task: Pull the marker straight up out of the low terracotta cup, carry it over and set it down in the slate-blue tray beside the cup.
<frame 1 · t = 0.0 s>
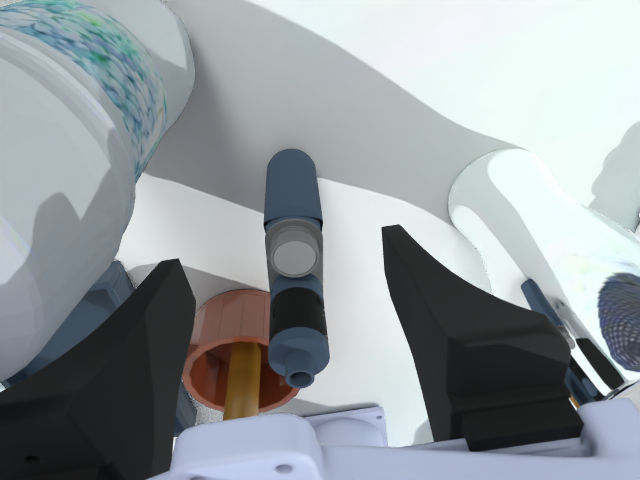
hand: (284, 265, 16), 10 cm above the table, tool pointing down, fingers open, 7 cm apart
marker: (247, 334, 31), resting on pen cup
pen cup: (248, 329, 32), on the table
beer glass: (496, 193, 27), on the table
tray: (92, 357, 32), on the table
bottle: (133, 49, 21), on the table
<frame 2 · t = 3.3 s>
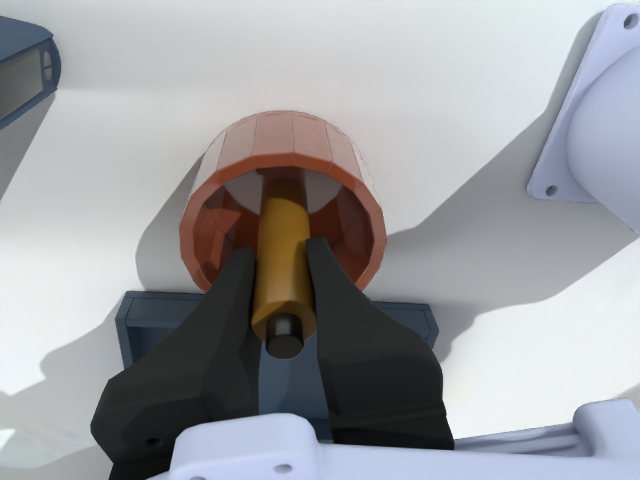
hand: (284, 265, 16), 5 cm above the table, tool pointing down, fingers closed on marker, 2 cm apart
marker: (284, 199, 20), point 1 cm above the table, touching gripper, pen cup
pen cup: (284, 193, 20), on the table
tray: (277, 363, 27), on the table
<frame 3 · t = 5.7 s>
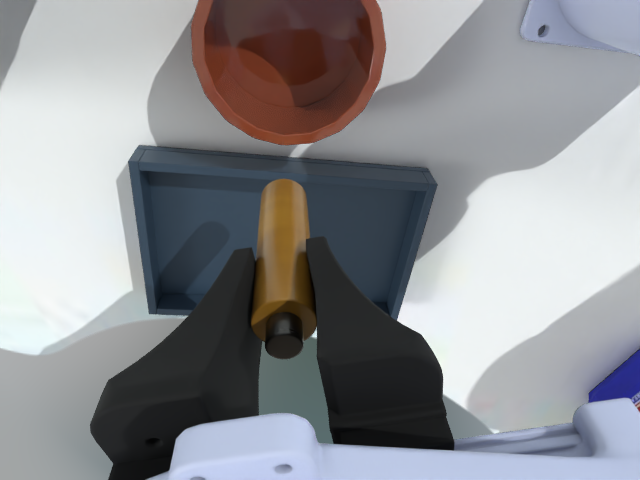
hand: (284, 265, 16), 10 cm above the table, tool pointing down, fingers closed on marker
marker: (283, 198, 20), point 6 cm above the table, touching gripper
pen cup: (288, 33, 21), on the table
tray: (282, 235, 28), on the table
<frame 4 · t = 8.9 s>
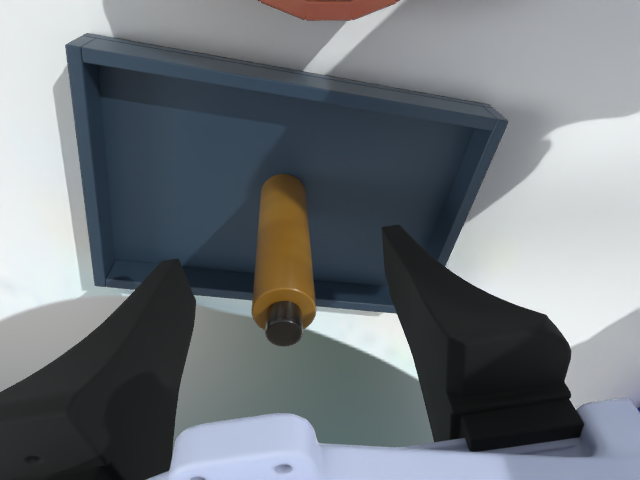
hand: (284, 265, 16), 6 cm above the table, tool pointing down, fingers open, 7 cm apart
marker: (283, 193, 20), resting on tray
tray: (284, 188, 20), on the table
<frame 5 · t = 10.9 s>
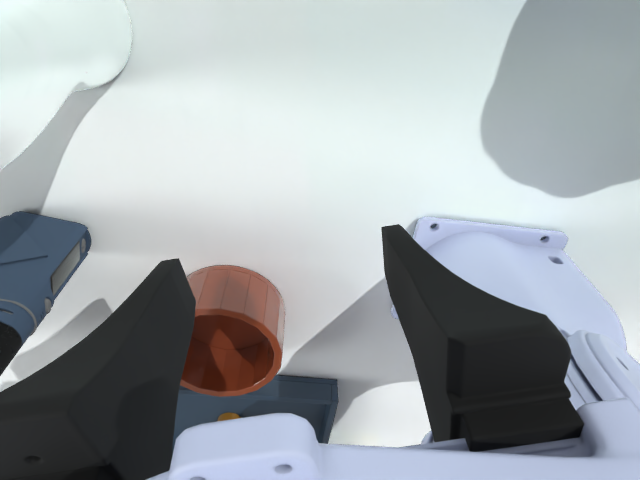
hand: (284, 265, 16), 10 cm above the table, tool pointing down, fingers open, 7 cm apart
pen cup: (229, 309, 31), on the table
beer glass: (68, 20, 21), on the table
tray: (231, 414, 37), on the table
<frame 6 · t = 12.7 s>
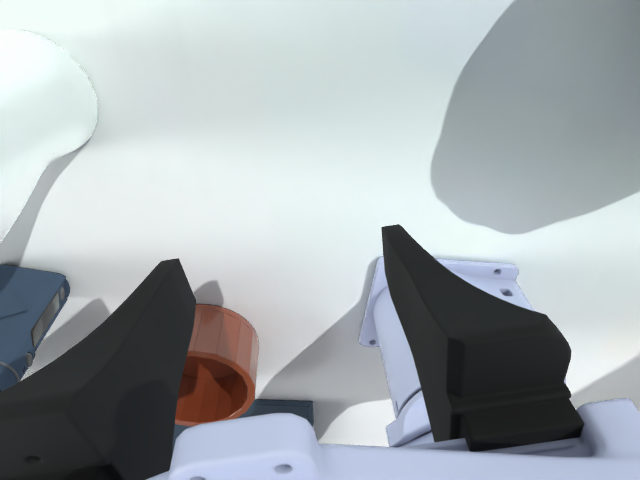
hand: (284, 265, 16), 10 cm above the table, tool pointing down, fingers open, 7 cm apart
pen cup: (205, 343, 32), on the table
beer glass: (36, 94, 22), on the table
tray: (214, 436, 39), on the table
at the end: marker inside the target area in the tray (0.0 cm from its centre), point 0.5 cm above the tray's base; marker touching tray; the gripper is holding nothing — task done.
